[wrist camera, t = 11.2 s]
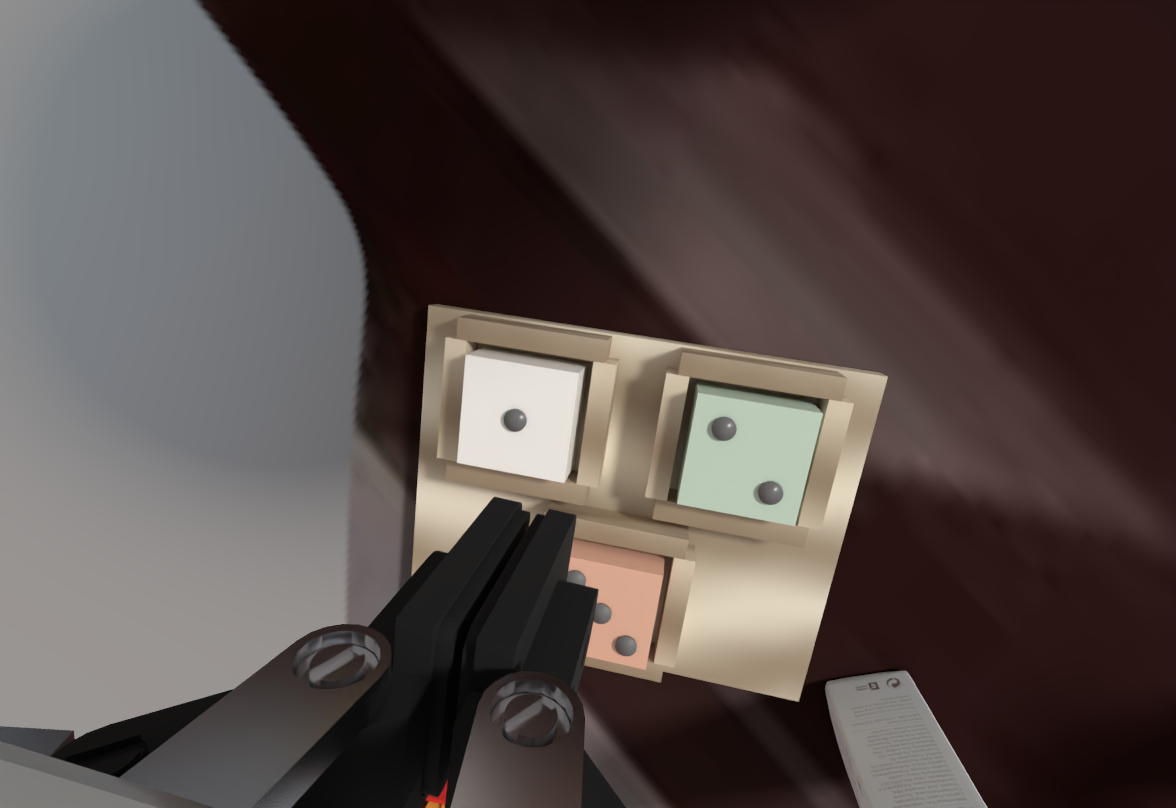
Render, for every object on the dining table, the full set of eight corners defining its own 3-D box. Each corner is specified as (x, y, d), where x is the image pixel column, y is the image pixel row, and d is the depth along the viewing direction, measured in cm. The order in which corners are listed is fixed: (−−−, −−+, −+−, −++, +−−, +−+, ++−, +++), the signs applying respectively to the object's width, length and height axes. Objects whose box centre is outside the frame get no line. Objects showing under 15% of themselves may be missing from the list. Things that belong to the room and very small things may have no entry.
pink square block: (565, 530, 28) (554, 555, 26) (664, 550, 28) (663, 577, 25) (553, 617, 30) (541, 648, 27) (648, 637, 29) (645, 672, 27)
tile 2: (696, 381, 26) (698, 393, 23) (810, 399, 25) (824, 414, 23) (677, 483, 27) (676, 505, 25) (784, 503, 26) (795, 527, 24)
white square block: (484, 347, 27) (464, 355, 24) (587, 363, 26) (578, 374, 24) (475, 446, 28) (455, 463, 26) (573, 465, 28) (563, 484, 25)
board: (437, 304, 28) (413, 307, 26) (880, 372, 26) (901, 384, 23) (417, 604, 32) (395, 632, 30) (794, 687, 30) (805, 726, 27)
